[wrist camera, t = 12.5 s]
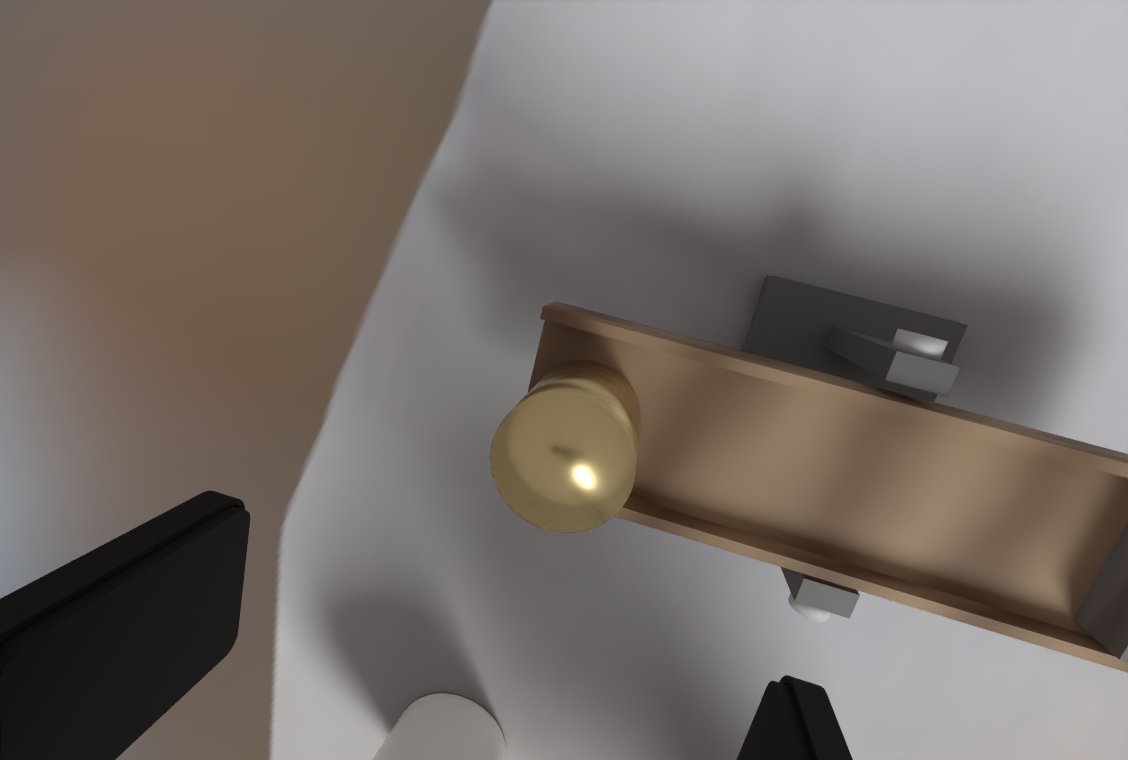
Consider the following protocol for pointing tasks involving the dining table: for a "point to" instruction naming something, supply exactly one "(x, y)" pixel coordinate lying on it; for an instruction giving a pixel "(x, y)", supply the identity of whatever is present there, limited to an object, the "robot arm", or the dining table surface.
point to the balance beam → (869, 486)
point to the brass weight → (569, 448)
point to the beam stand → (850, 372)
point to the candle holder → (444, 732)
